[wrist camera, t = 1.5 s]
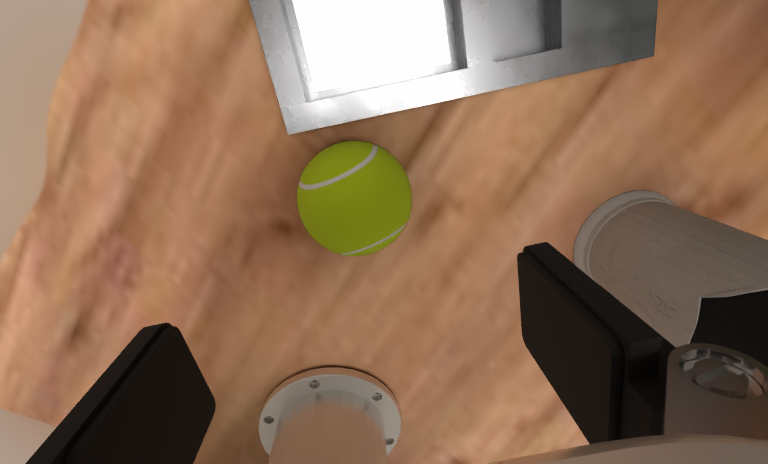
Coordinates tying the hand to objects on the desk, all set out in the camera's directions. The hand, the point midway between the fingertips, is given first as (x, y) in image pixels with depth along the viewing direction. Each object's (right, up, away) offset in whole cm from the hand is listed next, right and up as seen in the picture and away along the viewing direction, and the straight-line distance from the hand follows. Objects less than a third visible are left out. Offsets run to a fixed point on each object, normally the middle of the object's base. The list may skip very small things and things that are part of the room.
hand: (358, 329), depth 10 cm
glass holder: (+21, -1, +21) cm, 29 cm away
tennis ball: (-1, +6, +16) cm, 17 cm away
